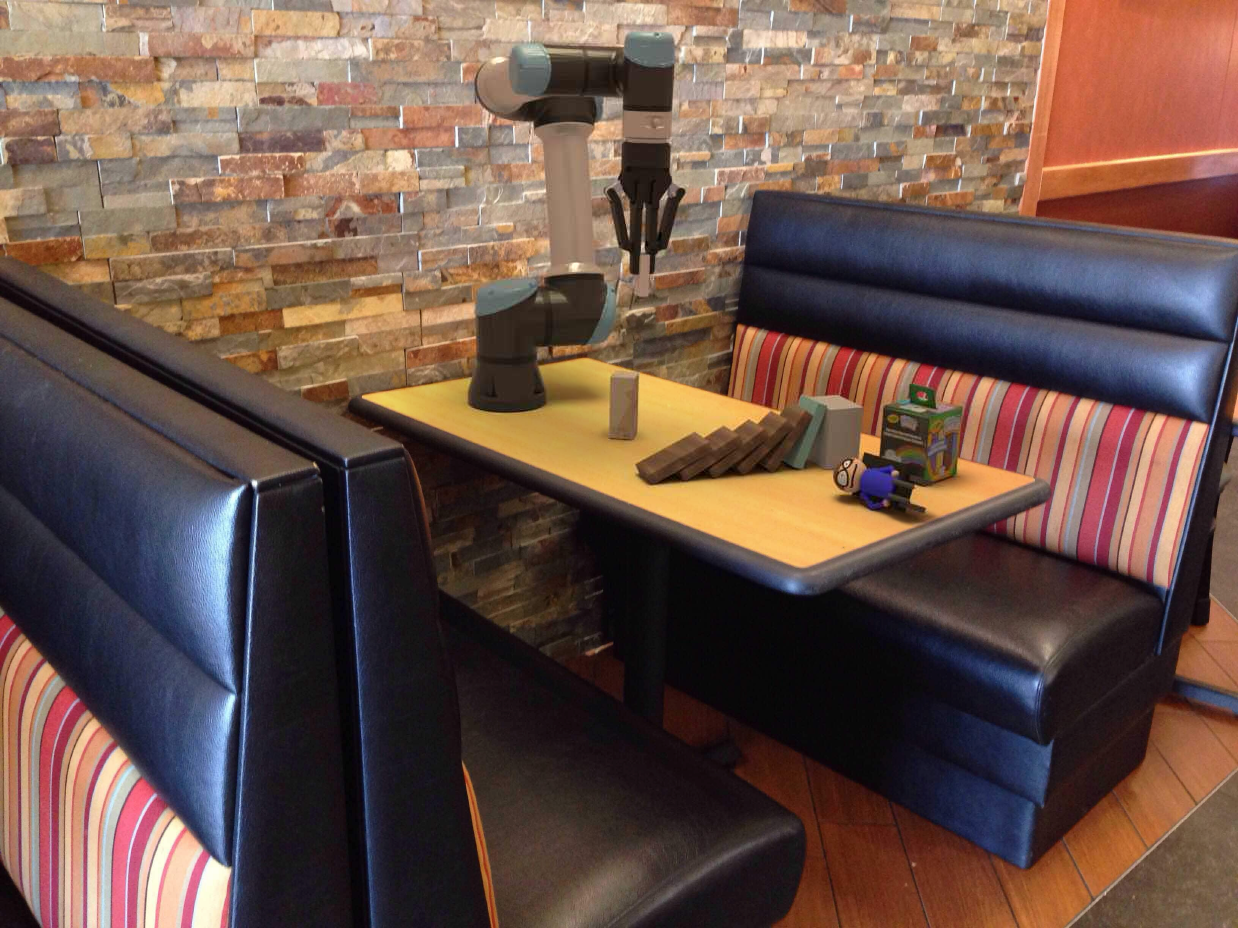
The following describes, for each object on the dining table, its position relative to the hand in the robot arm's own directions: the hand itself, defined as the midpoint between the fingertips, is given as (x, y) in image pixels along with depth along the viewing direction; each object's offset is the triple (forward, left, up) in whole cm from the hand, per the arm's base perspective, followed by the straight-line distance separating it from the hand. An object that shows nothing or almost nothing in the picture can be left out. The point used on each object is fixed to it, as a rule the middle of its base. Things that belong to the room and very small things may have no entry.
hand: (641, 294), depth 175 cm
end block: (+12, +29, -27) cm, 42 cm away
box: (-11, +1, -27) cm, 29 cm away
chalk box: (+22, +39, -27) cm, 53 cm away
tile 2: (+12, +2, -26) cm, 29 cm away
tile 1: (+12, -4, -26) cm, 29 cm away
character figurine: (+34, +25, -27) cm, 50 cm away
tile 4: (+12, +12, -26) cm, 31 cm away
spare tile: (+12, +22, -26) cm, 36 cm away
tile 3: (+12, +7, -26) cm, 29 cm away
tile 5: (+12, +17, -26) cm, 33 cm away
